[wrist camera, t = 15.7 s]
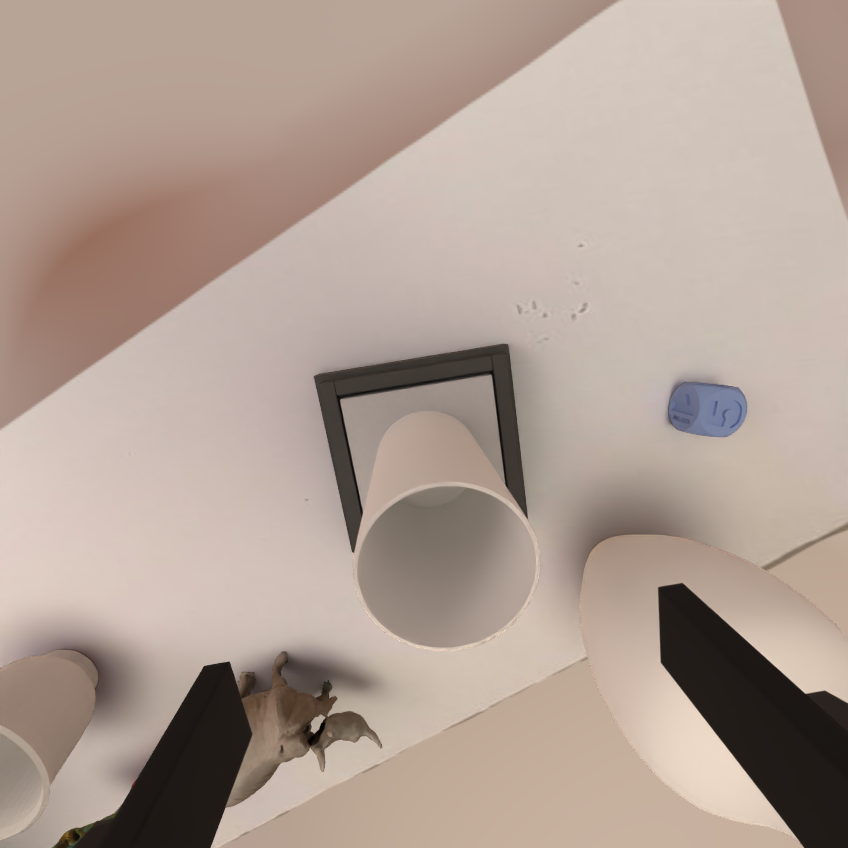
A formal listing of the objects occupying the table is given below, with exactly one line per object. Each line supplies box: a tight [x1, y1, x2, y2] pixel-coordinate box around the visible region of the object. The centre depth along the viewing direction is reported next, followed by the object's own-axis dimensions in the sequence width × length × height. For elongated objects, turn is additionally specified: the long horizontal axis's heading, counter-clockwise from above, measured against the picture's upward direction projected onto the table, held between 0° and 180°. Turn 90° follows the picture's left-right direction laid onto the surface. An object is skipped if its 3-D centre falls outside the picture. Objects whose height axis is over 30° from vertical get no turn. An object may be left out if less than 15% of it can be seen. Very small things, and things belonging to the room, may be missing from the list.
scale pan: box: [340, 373, 505, 511], centre depth 34 cm, size 12×12×2 cm
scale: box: [314, 344, 528, 553], centre depth 35 cm, size 16×16×3 cm
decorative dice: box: [669, 382, 747, 437], centre depth 35 cm, size 4×4×4 cm
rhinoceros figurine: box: [225, 652, 382, 808], centre depth 37 cm, size 8×14×15 cm
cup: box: [353, 411, 540, 651], centre depth 26 cm, size 8×8×16 cm
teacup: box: [0, 650, 99, 840], centre depth 35 cm, size 12×15×10 cm
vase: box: [580, 535, 848, 844], centre depth 26 cm, size 14×14×28 cm
